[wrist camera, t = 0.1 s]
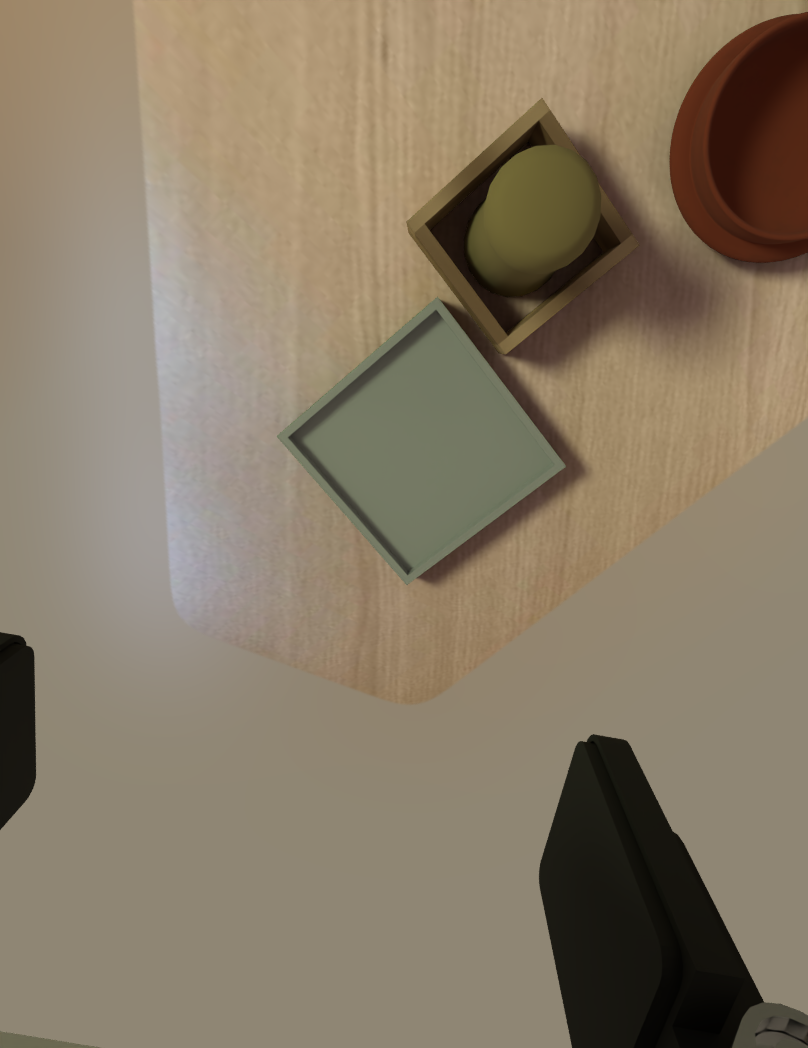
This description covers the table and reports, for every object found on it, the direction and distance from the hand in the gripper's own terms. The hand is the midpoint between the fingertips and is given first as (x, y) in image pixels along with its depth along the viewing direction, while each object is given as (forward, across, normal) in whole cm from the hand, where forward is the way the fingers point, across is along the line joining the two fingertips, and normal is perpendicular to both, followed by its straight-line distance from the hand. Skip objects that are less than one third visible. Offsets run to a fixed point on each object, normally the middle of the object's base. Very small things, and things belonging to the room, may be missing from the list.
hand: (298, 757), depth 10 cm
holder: (+31, -5, -13) cm, 34 cm away
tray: (+31, -2, 0) cm, 31 cm away
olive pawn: (+31, -5, -13) cm, 34 cm away
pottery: (+31, -18, -24) cm, 44 cm away
